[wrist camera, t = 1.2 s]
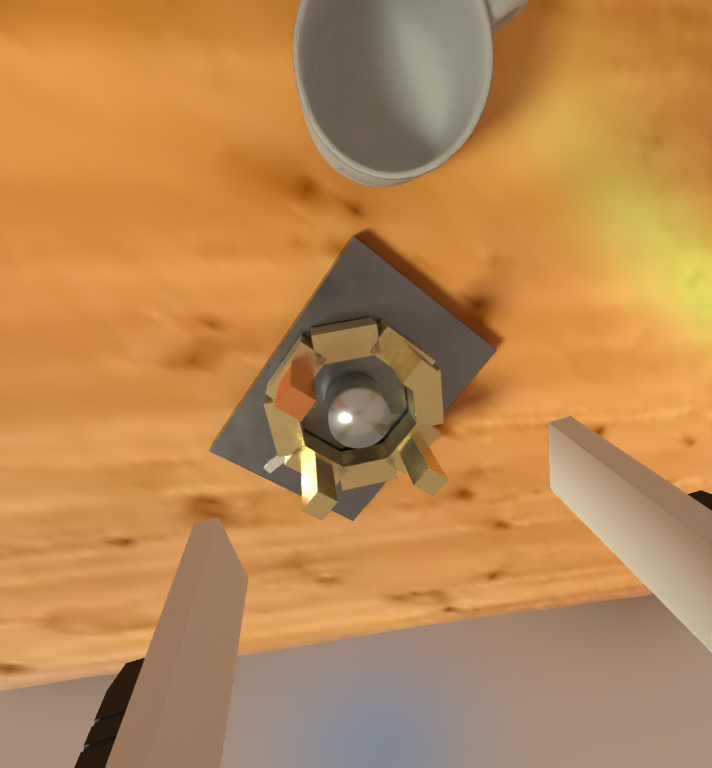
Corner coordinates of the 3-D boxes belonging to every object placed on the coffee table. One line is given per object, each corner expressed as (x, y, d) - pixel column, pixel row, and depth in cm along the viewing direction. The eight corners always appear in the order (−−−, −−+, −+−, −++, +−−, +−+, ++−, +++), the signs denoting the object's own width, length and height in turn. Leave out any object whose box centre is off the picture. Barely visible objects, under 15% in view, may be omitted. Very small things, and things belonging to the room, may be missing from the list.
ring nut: (238, 424, 32) (222, 476, 25) (334, 285, 29) (345, 301, 22) (369, 493, 37) (385, 552, 30) (464, 379, 34) (506, 417, 27)
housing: (212, 442, 34) (197, 478, 29) (351, 236, 30) (362, 236, 25) (351, 511, 40) (358, 551, 35) (488, 345, 35) (521, 364, 30)
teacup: (327, 213, 29) (336, 206, 21) (269, 42, 24) (256, -41, 17) (495, 150, 29) (563, 122, 21) (467, -33, 24) (539, -146, 17)
